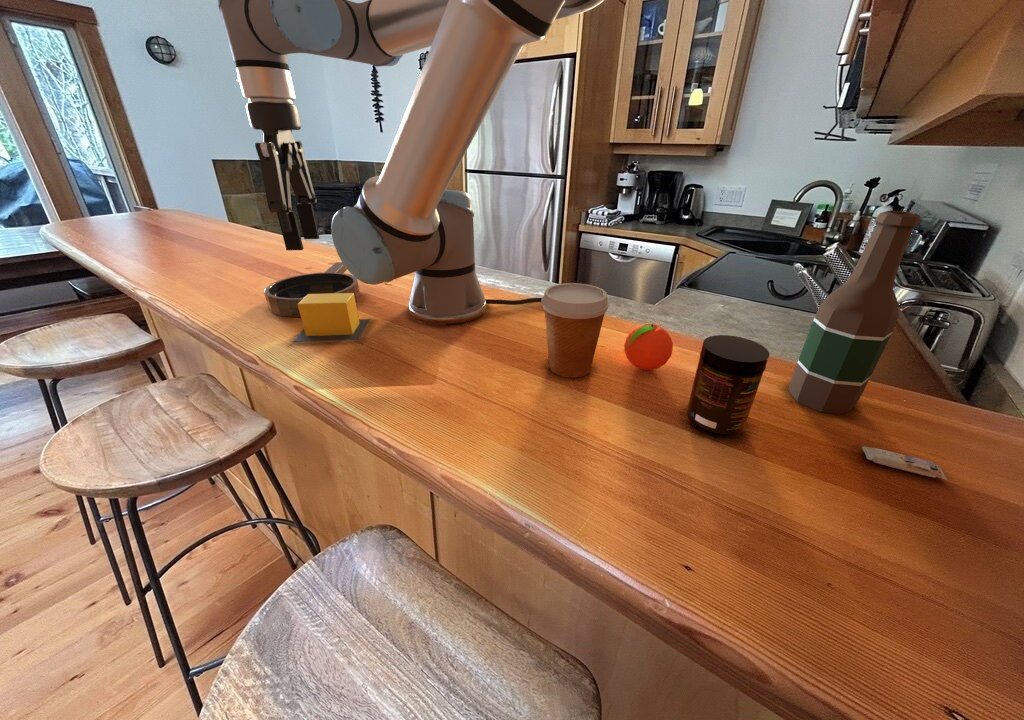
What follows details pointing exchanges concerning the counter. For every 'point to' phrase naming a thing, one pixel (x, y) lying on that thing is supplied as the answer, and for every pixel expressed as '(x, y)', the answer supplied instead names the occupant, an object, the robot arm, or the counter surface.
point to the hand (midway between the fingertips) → (303, 243)
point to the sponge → (329, 314)
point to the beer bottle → (854, 323)
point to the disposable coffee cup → (573, 326)
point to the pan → (307, 290)
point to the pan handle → (337, 268)
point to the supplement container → (725, 384)
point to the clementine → (648, 346)
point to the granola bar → (904, 462)
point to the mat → (355, 336)
